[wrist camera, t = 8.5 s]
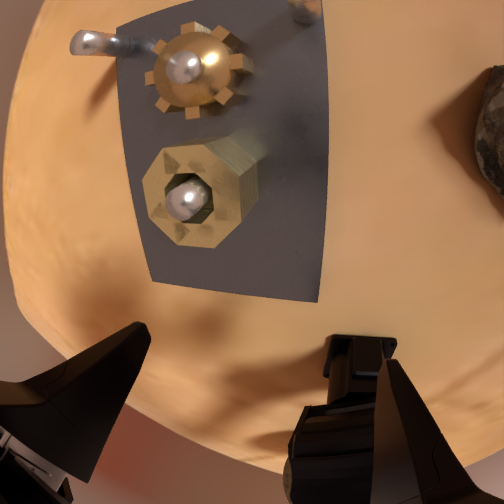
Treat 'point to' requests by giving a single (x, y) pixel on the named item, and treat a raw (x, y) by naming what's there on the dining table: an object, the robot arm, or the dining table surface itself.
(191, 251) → the carrier
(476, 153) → the grey rock
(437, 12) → the dining table surface
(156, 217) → the hollow octagonal tube
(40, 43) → the dining table surface
